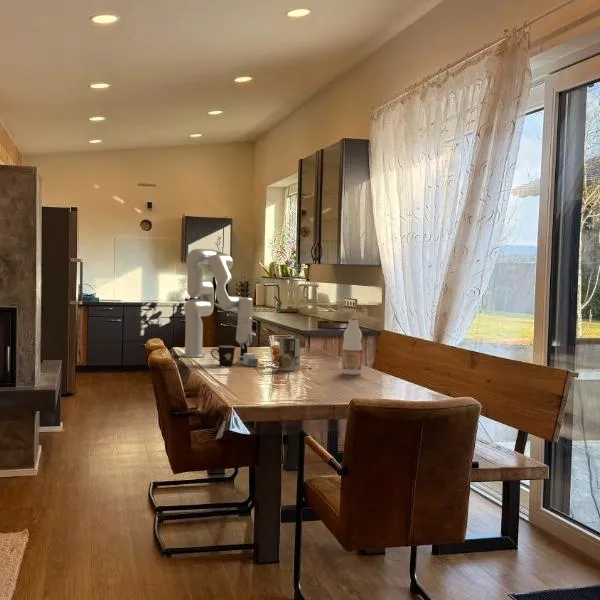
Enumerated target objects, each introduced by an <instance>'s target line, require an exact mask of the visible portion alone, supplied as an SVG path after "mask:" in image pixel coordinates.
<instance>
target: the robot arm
mask: <svg viewBox="0 0 600 600" xmlns="http://www.w3.org/2000/svg"><path fill="white" fill-rule="evenodd" d="M185 264H186V270H187V278H186V279H187V282H186V283H187V284H186V285H187V286H186V289H187V290H186V291H187V294H188V296H190V297H192V298H198V299H190V300H187V301H186V302H185V303H184V309H183V310H184V316H185V317H184V318H185V332H184V333H185V336H184V337H185V339H184V340H185V341H184V352H183V353H181V356H182V357H185V358H204V357H206V354H205V353H203V338H204V337H203V335H204V334H203V333H204V331H203V330H204V326H203V325H204V324H203V323H204V322H203V319H202V318H201V317H209V316H211V315H212V314H213V312H214V307H215V304H214V303H215V297H216V300H217V302H218V304H219V306H220V308H222V310H223V311H225V312H226V311H229V312H230V311H231V312H232V311H234V312H235V311H237V326H236V333H235V335H236V336H235V341H236V342H237V343H238V344H239V345H240V346H239V348H240V353H239V354H240V357H243V354H244V353H248V347H249V346H250V345H251V344H252V340H253V339H252V338H253V328H252V325H253V305H254V302H253V298H252V297H242V296H238V295H237V296H234V295H231V296H230V295H228V292H227V289H226V285H228V284H229V283H230V282H231V281H232V279H233V276H232V274H231V272H230V270H232V267H233V265H234V260H233V258H232V256H230V255H229V254H227V253H224V252H223V251H219V250H216V249H212V248H211V249H210V248H209V249H208V248H195V249H191V250H190V251H189V252H188V254H187V256H186V263H185ZM201 265H209V267H210V270H211V272H212V274H213V276H214V277H213V278H215V281H216V288H215V289H214V285H213V283H212V282H211V281H210V280H208V279H204V271H203V268H202V266H201Z"/></svg>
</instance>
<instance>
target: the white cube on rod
mask: <svg viewBox="0 0 600 600" xmlns="http://www.w3.org/2000/svg"><path fill="white" fill-rule="evenodd" d="M242 357H243V363H242V364H243V365H245V366H249V363H248V361H249V359H250V358H256V354H255V353H253V352H247V353H244V354H243V356H242Z"/></svg>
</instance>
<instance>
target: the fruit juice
mask: <svg viewBox="0 0 600 600" xmlns="http://www.w3.org/2000/svg"><path fill="white" fill-rule="evenodd" d="M358 321H359V317H358V316H348V324H347V327H346V329H345V330H344V331H343V340H344V341H343V343H342V356H341V357H342V359H341V360H342V361H341V373H342V374H343V375H348V376H349V375H351V376H356V375H360V374H361V373H362V353H363V352H362V350H363V346H362V345H363V343H362V338H363V333H362V330H361V329H360V327H359V322H358Z"/></svg>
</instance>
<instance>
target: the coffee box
mask: <svg viewBox="0 0 600 600" xmlns="http://www.w3.org/2000/svg"><path fill="white" fill-rule="evenodd" d="M278 341H279V342H278V343H279V345H278V346H279V348H278V349H279V350H278V352H279V353H278V355H279V356H278V370H279V371H287V372H288V371H289V372H297V371H300V368H301V367H300V366H301V365H300V363H301V361H300V360H301V337H299V338H298V337H288V336H287V337H286V336H283V337H280V338H279V340H278Z"/></svg>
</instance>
